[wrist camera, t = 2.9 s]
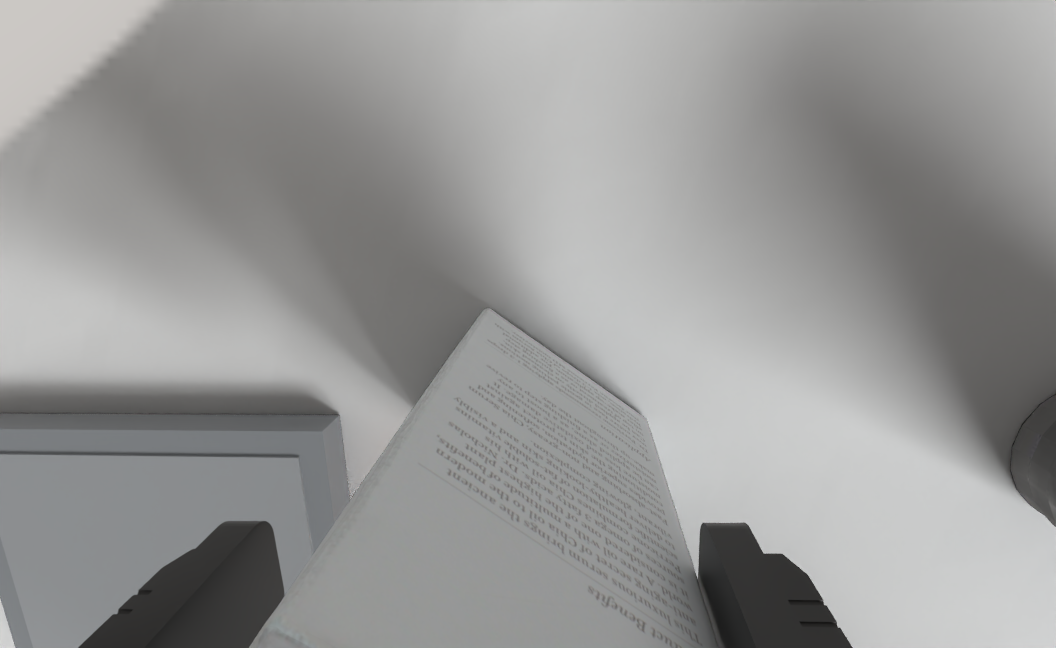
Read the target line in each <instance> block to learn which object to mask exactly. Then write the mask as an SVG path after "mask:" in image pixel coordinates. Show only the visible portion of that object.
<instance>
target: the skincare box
mask: <svg viewBox="0 0 1056 648" xmlns="http://www.w3.org/2000/svg"><path fill="white" fill-rule="evenodd" d="M249 648H719V646H718V643H717V640H716V637H715V633H714V630H713V627H712V624H711V621H710V617H709V614H708V611H707V608H706V604H705V601H704V598H703V595H702V592H701V589H700V585H699V582H698V579H697V576H696V573H695V570H694V566H693V563H692V559H691V556H690V553H689V551H688V548H687V545H686V541H685V538H684V535H683V532H682V529H681V526H680V522H679V519H678V516H677V512H676V509H675V506H674V503H673V500H672V497H671V494H670V491H669V488H668V485H667V481H666V478H665V475H664V472H663V468H662V465H661V462H660V459H659V456H658V453H657V449H656V446H655V443H654V440H653V437H652V433H651V430H650V427H649V424H648V422H647V419H646V418H645V417H644V416H642V415H641V414H639V413H638V412H636V411H635V410H633V409H632V408H630V407H629V406H628V405H626V404H625V403H623V402H622V401H621V400H619V399H618V398H616V397H615V396H614V395H612V394H611V393H609V392H608V391H607V390H605V389H604V388H602V387H601V386H600V385H598V384H597V383H595V382H594V381H592V380H591V379H590V378H588V377H587V376H585V375H584V374H582V373H581V372H580V371H578V370H577V369H576V368H574V367H573V366H571V365H570V364H568V363H567V362H565V361H564V360H562V359H561V358H559V357H558V356H557V355H555V354H554V353H552V352H551V351H550V350H548V349H547V348H545V347H544V346H543V345H541V344H540V343H538V342H537V341H535V340H534V339H532V338H531V337H530V336H528V335H527V334H525V333H524V332H522V331H521V330H520V329H518V328H517V327H515V326H514V325H513V324H511V323H510V322H508V321H507V320H506V319H504V318H503V317H501V316H500V315H498V314H497V313H496V312H494V311H493V310H491V309H490V308H486V309H484V310H483V311H482V313H481V314H480V315H479V316H478V318H477V319H476V321H475V322H474V323H473V325H472V326H471V328H470V329H469V330H468V332H467V333H466V334H465V336H464V337H463V338H462V340H461V341H460V342H459V344H458V345H457V347H456V348H455V349H454V351H453V352H452V353H451V355H450V356H449V358H448V359H447V361H446V362H445V363H444V365H443V366H442V368H441V369H440V370H439V372H438V373H437V375H436V376H435V378H434V379H433V380H432V382H431V383H430V385H429V386H428V388H427V389H426V390H425V392H424V393H423V395H422V396H421V398H420V399H419V400H418V402H417V403H416V405H415V406H414V408H413V409H412V410H411V412H410V413H409V415H408V416H407V418H406V419H405V421H404V422H403V424H402V425H401V427H400V428H399V430H398V431H397V433H396V434H395V436H394V437H393V438H392V440H391V441H390V443H389V444H388V446H387V447H386V449H385V450H384V452H383V453H382V454H381V456H380V457H379V459H378V460H377V462H376V463H375V465H374V466H373V468H372V469H371V471H370V472H369V473H368V475H367V476H366V478H365V479H364V481H363V482H362V484H361V485H360V487H359V488H358V490H357V491H356V492H355V494H354V495H353V497H352V498H351V500H350V501H349V503H348V504H347V506H346V507H345V508H344V510H343V511H342V513H341V514H340V516H339V517H338V519H337V520H336V522H335V523H334V525H333V526H332V527H331V529H330V530H329V532H328V533H327V535H326V536H325V538H324V539H323V541H322V542H321V544H320V545H319V547H318V548H317V549H316V551H315V552H314V554H313V555H312V557H311V558H310V560H309V561H308V563H307V564H306V566H305V567H304V569H303V570H302V572H301V573H300V574H299V576H298V577H297V579H296V580H295V582H294V583H293V585H292V586H291V588H290V589H289V591H288V592H287V594H286V595H285V596H284V598H283V599H282V601H281V602H280V604H279V605H278V607H277V608H276V609H275V611H274V612H273V613H272V615H271V616H270V617H269V619H268V620H267V621H266V623H265V624H264V626H263V627H262V629H261V630H260V632H259V633H258V635H257V636H256V638H255V639H254V641H253V642H252V644H251V645H250V647H249Z"/></svg>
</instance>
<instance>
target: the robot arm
mask: <svg viewBox="0 0 1056 648" xmlns="http://www.w3.org/2000/svg"><path fill="white" fill-rule="evenodd" d="M698 582H699V585H700V589H701V592H702V595H703V598H704V601H705V604H706V608H707V611H708V614H709V617H710V621H711V624H712V627H713V630H714V633H715V637H716V640H717V643H718V646H719V648H852V646H851V645H850V643H849V641H848V640H847V638H846V637H845V635H844V633H843V632H842V630H841V628H838V627H837V622H836V620H835V619H834V617H833V615H832V614H831V612H830V610H829V609H828V607H827V606H826V605H824V603H823V599H822V597H821V596H820V594H819V593H818V591H817V589H816V588H815V586H814V584H813V583H812V581H811V580H810V578H809V576H808V575H807V574H806V573H805V572H803V571H802V570H801V569H800V568H799V567H797V566H796V565H795V564H794V563H793V562H791V561H790V560H789V559H788V558H787V557H785V556H784V555H783V554H763V552H762V550H761V548H760V546H759V544H758V543H757V541H756V539H755V537H754V535H753V533H752V531H751V529H750V528H749V526H748V525H747V524H746V523H703V524H702V525H701V529H700V544H699V572H698ZM283 598H284V585H283V580H282V575H281V569H280V564H279V558H278V553H277V547H276V542H275V536H274V531H273V528H272V526H271V525H270V523H268V522H267V521H225V522H223V523H221V524H220V525H219V526H218V527H217V528H216V529H215V530H214V531H213V532H212V533H211V534H210V535H209V536H208V537H207V538H206V539H205V540H204V541H203V542H202V543H201V544H200V545H199V546H198V547H197V548H196V549H192V550H190V551H188V552H187V553H185V554H183V555H182V556H180V557H179V558H177V559H175V560H174V561H172V562H171V563H169V564H167V565H166V566H164V567H162V568H161V569H160V570H159V571H158V572H157V573H156V574H155V575H154V576H153V577H152V578H151V579H150V580H149V581H148V582H146V583H145V584H144V585H143V586H142V587H141V588H140V589H139V590H138V594H137V595H133V596H132V597H131V598H130V599H129V600H128V601H126V602H125V603H124V604H123V605H122V606H121V607H120V608H119V609H118V613H117V614H113V615H112V616H111V617H110V618H109V619H107V620H106V621H105V622H104V623H103V624H102V625H101V626H100V627H99V628H98V629H97V630H96V631H95V632H94V633H93V634H92V635H91V636H90V637H89V638H87V639H86V640H85V641H84V642H83V643H82V644H81V645H80V646H79V647H78V648H249V647H250V645H251V644H252V642H253V641H254V639H255V638H256V636H257V635H258V633H259V632H260V630H261V629H262V627H263V626H264V624H265V623H266V621H267V620H268V619H269V617H270V616H271V615H272V613H273V612H274V611H275V609H276V608H277V607H278V605H279V604H280V602H281V601H282V599H283Z"/></svg>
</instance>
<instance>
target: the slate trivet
mask: <svg viewBox="0 0 1056 648" xmlns="http://www.w3.org/2000/svg"><path fill="white" fill-rule="evenodd" d="M349 501H350V498H349V490H348V481H347V473H346V465H345V457H344V448H343V440H342V432H341V423H340V415H242V414H36V413H0V598H1V602H2V605H3V608H4V611H5V615H6V618H7V621H8V624H9V628H10V631H11V634H12V638H13V641H14V644H15V647H16V648H78V647H79V646H80V645H81V644H82V643H83V642H84V641H85V640H86V639H87V638H89V637H90V636H91V635H92V634H93V633H94V632H95V631H96V630H97V629H98V628H99V627H100V626H101V625H102V624H103V623H104V622H105V621H106V620H107V619H109V618H110V617H111V616H112V615H113V614H117V613H118V609H119V608H120V607H121V606H122V605H123V604H124V603H125V602H126V601H128V600H129V599H130V598H131V597H132V596H133V595H137V594H138V590H139V589H140V588H141V587H142V586H143V585H144V584H145V583H146V582H148V581H149V580H150V579H151V578H152V577H153V576H154V575H155V574H156V573H157V572H158V571H159V570H160V569H161V568H162V567H164V566H166V565H167V564H169V563H171V562H172V561H174V560H175V559H177V558H179V557H180V556H182V555H183V554H185V553H187V552H188V551H190V550H192V549H196V548H197V547H198V546H199V545H200V544H201V543H202V542H203V541H204V540H205V539H206V538H207V537H208V536H209V535H210V534H211V533H212V532H213V531H214V530H215V529H216V528H217V527H218V526H219V525H220V524H221V523H223V522H225V521H267V522H268V523H270V525H271V526H272V528H273V531H274V536H275V542H276V547H277V553H278V558H279V564H280V569H281V575H282V580H283V585H284V596H285V595H286V594H287V592H288V591H289V589H290V588H291V586H292V585H293V583H294V582H295V580H296V579H297V577H298V576H299V574H300V573H301V572H302V570H303V569H304V567H305V566H306V564H307V563H308V561H309V560H310V558H311V557H312V555H313V554H314V552H315V551H316V549H317V548H318V547H319V545H320V544H321V542H322V541H323V539H324V538H325V536H326V535H327V533H328V532H329V530H330V529H331V527H332V526H333V525H334V523H335V522H336V520H337V519H338V517H339V516H340V514H341V513H342V511H343V510H344V508H345V507H346V506H347V504H348V503H349Z"/></svg>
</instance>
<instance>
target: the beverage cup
mask: <svg viewBox="0 0 1056 648" xmlns="http://www.w3.org/2000/svg"><path fill="white" fill-rule="evenodd" d="M1011 473H1012V476H1013V479H1014V482H1015V485H1016V488H1017V490H1018V491H1019V493H1020V494H1021V495H1022V496H1023V497H1024V498H1025V500H1026V501H1027V502H1028V503H1029V504H1030V505H1031V506H1032V507H1033V508H1034V509H1036V510H1037V511H1039V512H1040V513H1042V514H1043V515H1045V516H1046V517H1047V518H1048V520H1049V521H1050V522H1051V523H1052V524H1053V525H1054V526H1056V394H1055V395H1054V396H1052V397H1051V398H1049V399H1048V400H1046V401H1045V402H1043V403H1042V404H1040V405H1039V406H1038V408H1037V409H1036V410H1035V411H1034V412H1033V413H1032V414H1031V416H1030V417H1029V418H1028V419H1027V420H1026V421H1025V422H1024V424H1023V425H1022V427H1021V429H1020V431H1019V433H1018V436H1017V438H1016V440H1015V442H1014V445H1013V447H1012V457H1011Z"/></svg>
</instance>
